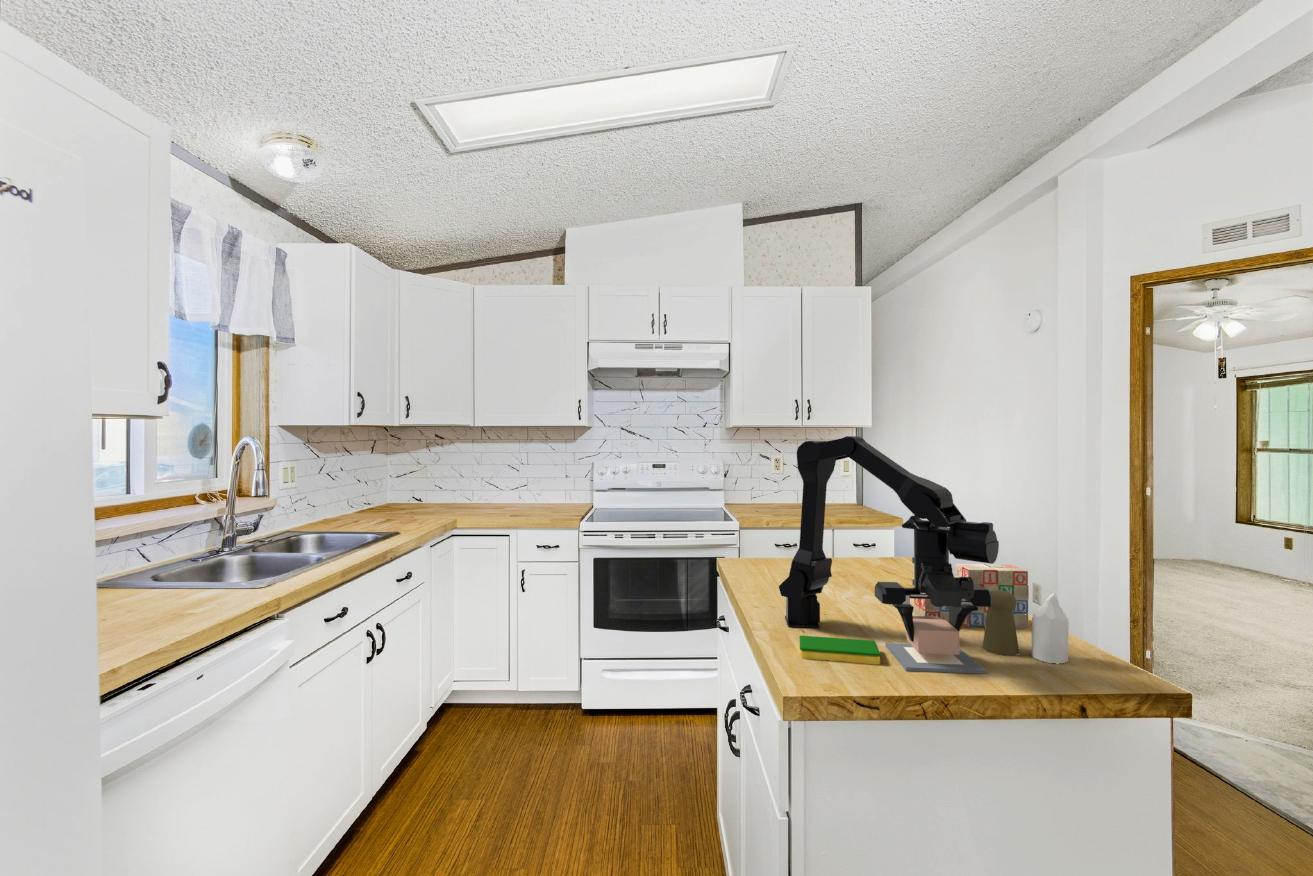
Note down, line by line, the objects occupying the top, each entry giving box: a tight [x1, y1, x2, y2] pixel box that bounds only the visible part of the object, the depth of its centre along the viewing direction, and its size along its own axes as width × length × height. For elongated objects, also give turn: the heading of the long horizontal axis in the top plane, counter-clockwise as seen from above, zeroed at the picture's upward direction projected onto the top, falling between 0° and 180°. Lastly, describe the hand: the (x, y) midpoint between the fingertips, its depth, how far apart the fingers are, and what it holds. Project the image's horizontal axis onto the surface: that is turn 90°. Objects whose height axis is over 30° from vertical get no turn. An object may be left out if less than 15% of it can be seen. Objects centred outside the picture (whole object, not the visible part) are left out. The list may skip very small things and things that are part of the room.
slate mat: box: [885, 642, 987, 675], centre depth 104 cm, size 13×12×1 cm
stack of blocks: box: [913, 563, 1030, 629], centre depth 125 cm, size 21×6×12 cm, turn 86°
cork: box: [982, 590, 1020, 657], centre depth 108 cm, size 6×6×11 cm
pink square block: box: [906, 619, 960, 655], centre depth 104 cm, size 7×7×4 cm
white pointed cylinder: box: [1031, 592, 1070, 665], centre depth 104 cm, size 6×12×6 cm
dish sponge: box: [799, 635, 881, 665], centre depth 106 cm, size 7×14×2 cm, turn 76°
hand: (931, 641), depth 104 cm, fingers closed on pink square block, 7 cm apart
